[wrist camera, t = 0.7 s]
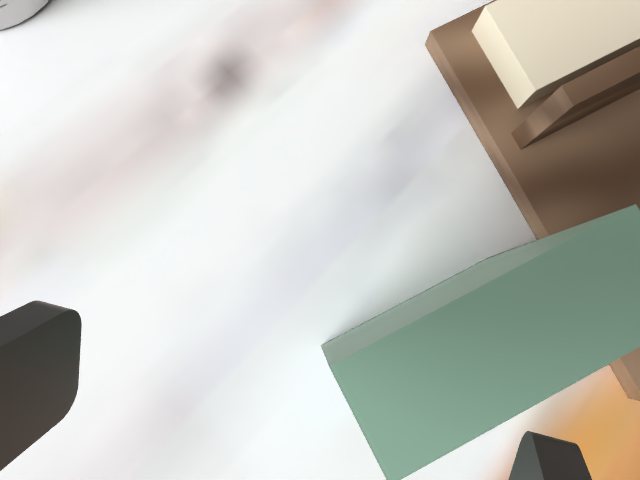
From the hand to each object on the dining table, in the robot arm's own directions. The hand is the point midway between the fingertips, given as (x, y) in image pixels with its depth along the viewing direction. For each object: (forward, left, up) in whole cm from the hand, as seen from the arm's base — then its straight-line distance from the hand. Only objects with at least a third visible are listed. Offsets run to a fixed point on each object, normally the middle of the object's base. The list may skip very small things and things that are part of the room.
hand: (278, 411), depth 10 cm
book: (+2, +6, -20) cm, 21 cm away
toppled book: (-9, +21, -18) cm, 29 cm away
